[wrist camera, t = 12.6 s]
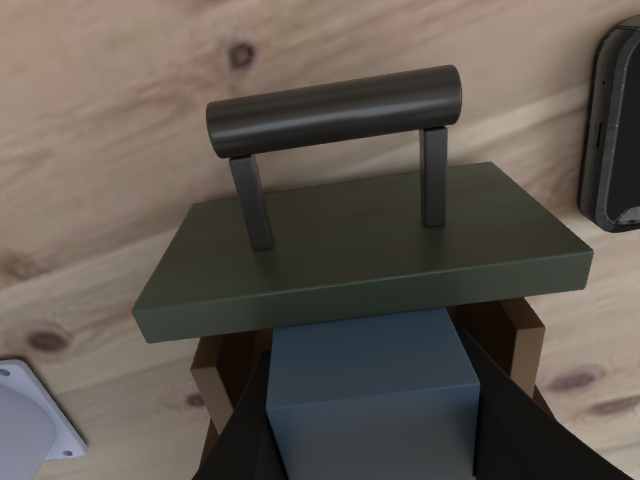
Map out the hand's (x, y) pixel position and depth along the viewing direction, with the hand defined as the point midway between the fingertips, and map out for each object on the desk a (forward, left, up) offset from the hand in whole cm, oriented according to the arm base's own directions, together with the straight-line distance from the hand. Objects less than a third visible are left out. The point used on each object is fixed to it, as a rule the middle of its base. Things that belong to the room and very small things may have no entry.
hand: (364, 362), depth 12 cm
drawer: (0, -1, -6) cm, 6 cm away
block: (0, 0, -2) cm, 2 cm away
